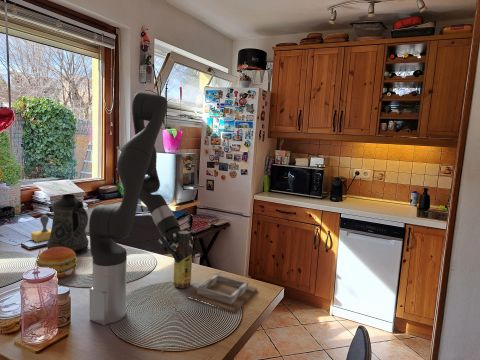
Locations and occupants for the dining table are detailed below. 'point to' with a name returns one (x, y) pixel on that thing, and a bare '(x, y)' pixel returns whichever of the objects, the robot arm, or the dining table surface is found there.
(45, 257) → the burger
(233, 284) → the carrier board
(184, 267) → the sauce bottle
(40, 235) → the rubber stamp
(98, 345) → the dining table surface
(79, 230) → the beer stein
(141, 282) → the dining table surface
